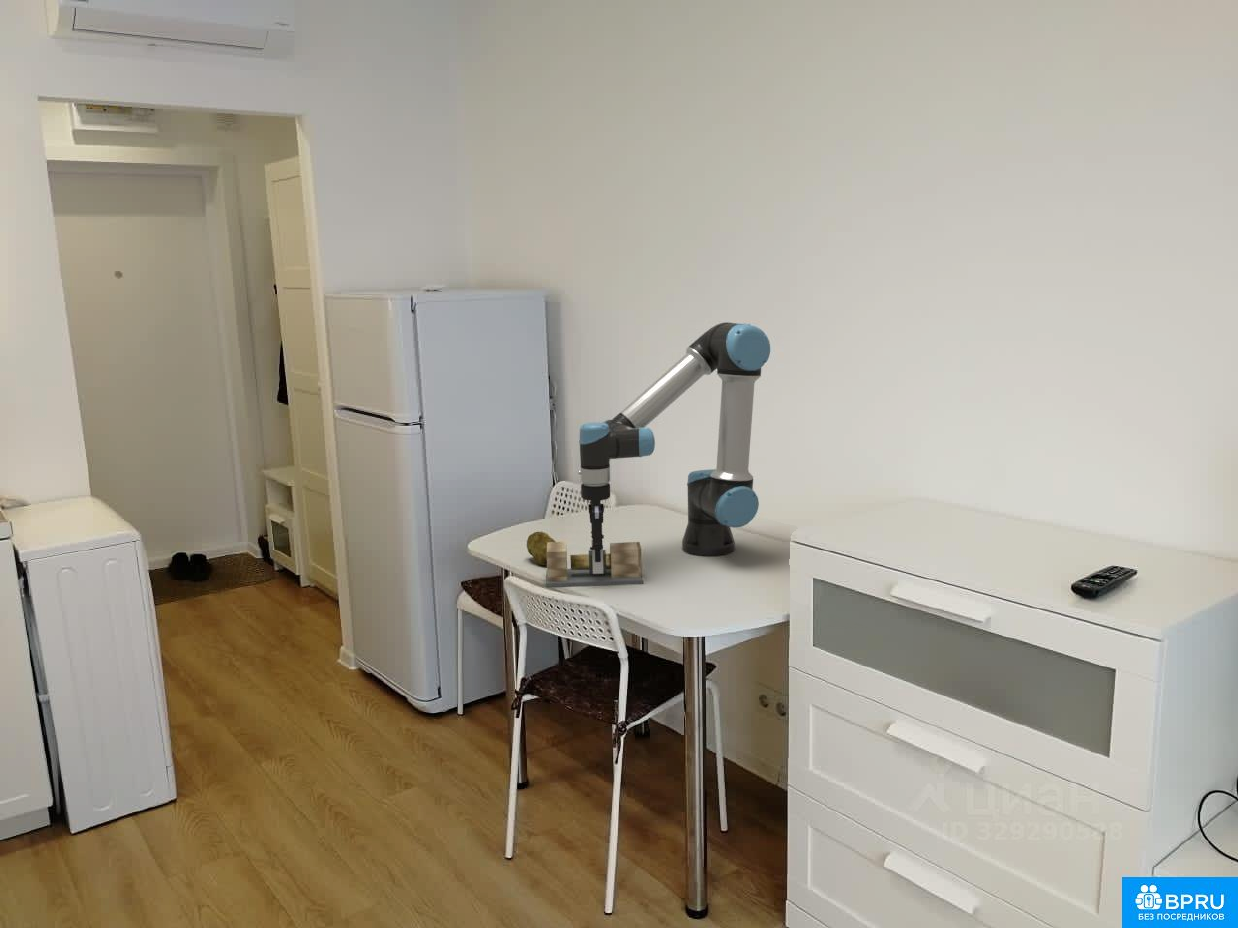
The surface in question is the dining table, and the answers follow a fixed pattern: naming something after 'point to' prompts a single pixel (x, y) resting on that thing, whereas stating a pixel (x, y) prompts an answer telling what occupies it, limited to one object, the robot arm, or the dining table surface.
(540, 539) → the potato
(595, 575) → the board
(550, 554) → the socket
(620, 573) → the sleeve
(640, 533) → the dining table surface
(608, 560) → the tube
